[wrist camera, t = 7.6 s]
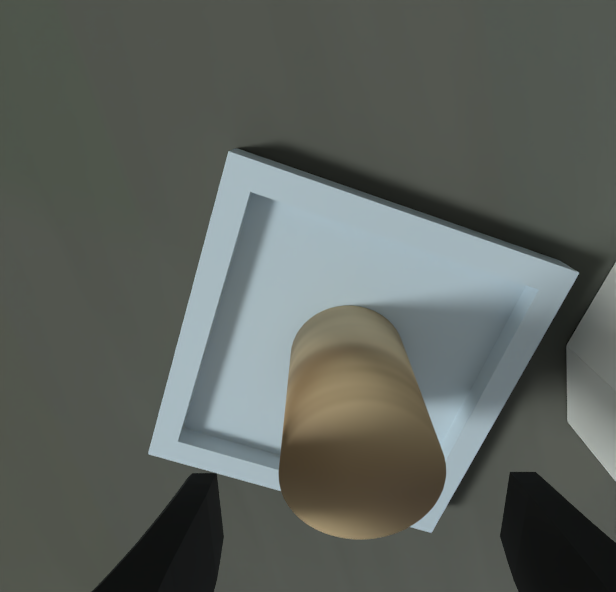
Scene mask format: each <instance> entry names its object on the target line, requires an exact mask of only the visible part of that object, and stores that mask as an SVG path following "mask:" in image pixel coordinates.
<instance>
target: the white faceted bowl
mask: <svg viewBox="0 0 616 592" xmlns="http://www.w3.org/2000/svg"><path fill="white" fill-rule="evenodd" d="M566 358H567V421H568V423H569V424H570V425H571V427H572V428H573V429H574V430H575V432H576V433H577V434H578V435H579V437H580V438H581V439H582V440H583V442H584V443H585V444H586V445H587V447H588V448H589V449H590V450H591V452H592V453H593V454H594V455H595V457H596V458H597V459H598V460H599V461H600V463H601V464H602V465H603V466H604V468H605V469H606V470H607V471H608V473H609V474H610V475H611V476H612V478H613V479H614V480H615V481H616V262H615V264H614V266H613V267H612V269H611V271H610V273H609V274H608V276H607V278H606V279H605V281H604V283H603V284H602V286H601V288H600V289H599V291H598V293H597V294H596V296H595V298H594V300H593V301H592V303H591V305H590V306H589V308H588V310H587V311H586V313H585V315H584V316H583V318H582V320H581V321H580V323H579V325H578V326H577V328H576V330H575V332H574V333H573V335H572V337H571V338H570V340H569V342H568V343H567V346H566Z"/></svg>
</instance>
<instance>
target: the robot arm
mask: <svg viewBox="0 0 616 592" xmlns="http://www.w3.org/2000/svg"><path fill="white" fill-rule="evenodd" d="M500 537H501V541H502V544H503V547H504V551H505V554H506V557H507V561H508V564H509V567H510V570H511V573H512V576H513V579H514V582H515V584H516V586H517V589H518V591H519V592H616V543H615V542H614V541H613V540H612V539H610V538H609V537H608V536H607V535H606V534H605V533H603V532H602V531H601V530H600V529H599V528H598V527H596V526H595V525H594V524H593V523H592V522H591V521H590V520H588V519H587V518H586V517H585V516H584V515H583V514H582V513H581V512H579V511H578V510H577V509H576V508H575V507H574V506H573V505H572V504H571V503H569V502H568V501H567V500H566V499H565V498H564V497H563V496H562V495H561V494H560V493H558V492H557V491H556V490H555V489H554V488H553V487H552V486H551V485H550V484H548V483H547V482H546V481H545V480H544V479H543V478H542V477H541V476H539V475H538V474H537V473H536V472H510V475H509V482H508V488H507V495H506V501H505V508H504V514H503V521H502V528H501V534H500ZM223 538H224V535H223V526H222V517H221V508H220V499H219V490H218V482H217V473H192V474H191V475H190V476H189V477H188V478H187V480H186V481H185V482H184V484H183V485H182V486H181V488H180V489H179V490H178V492H177V493H176V495H175V496H174V497H173V498H172V500H171V501H170V502H169V504H168V505H167V506H166V508H165V509H164V510H163V511H162V513H161V514H160V515H159V517H158V518H157V519H156V520H155V521H154V523H153V524H152V525H151V526H150V528H149V529H148V530H147V531H146V532H145V534H144V535H143V536H142V537H141V538H140V540H139V541H138V542H137V543H136V544H135V546H134V547H133V548H132V549H131V550H130V551H129V552H128V553H127V554H126V556H125V557H124V558H123V559H122V560H121V561H120V562H119V563H118V564H117V566H116V567H115V568H114V569H113V570H112V571H111V572H110V573H109V574H108V575H107V576H106V577H105V578H104V580H103V581H102V582H101V583H100V584H99V585H98V586H97V587H96V588H95V589H94V590H93V591H92V592H214V589H215V585H216V581H217V576H218V570H219V564H220V557H221V551H222V544H223Z"/></svg>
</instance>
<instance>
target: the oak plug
mask: <svg viewBox="0 0 616 592" xmlns="http://www.w3.org/2000/svg"><path fill="white" fill-rule="evenodd" d="M445 480H446V462H445V457H444V454H443V451H442V448H441V446H440V443H439V440H438V438H437V435H436V432H435V429H434V427H433V424H432V421H431V419H430V416H429V413H428V410H427V408H426V405H425V402H424V400H423V397H422V394H421V391H420V389H419V386H418V383H417V381H416V378H415V375H414V372H413V370H412V367H411V364H410V362H409V359H408V356H407V353H406V351H405V348H404V345H403V343H402V340H401V337H400V335H399V333H398V331H397V330H396V328H395V327H394V326H393V324H392V323H391V322H390V321H389V320H388V319H386V318H385V317H384V316H382V315H381V314H379V313H377V312H375V311H373V310H371V309H368V308H364V307H360V306H352V305H345V306H337V307H333V308H329V309H326V310H324V311H321V312H319V313H318V314H316V315H314V316H313V317H311V318H310V319H309V320H308V321H307V322H306V323H304V325H303V326H302V327H301V328H300V329H299V331H298V333H297V334H296V336H295V339H294V341H293V344H292V348H291V356H290V365H289V375H288V385H287V394H286V404H285V414H284V423H283V433H282V443H281V453H280V462H279V484H280V489H281V492H282V494H283V497H284V499H285V501H286V503H287V504H288V506H289V507H290V508H291V510H292V511H293V512H294V513H295V514H296V515H297V516H298V517H299V518H300V519H301V520H302V521H304V522H305V523H306V524H308V525H309V526H311V527H313V528H315V529H317V530H319V531H321V532H323V533H326V534H329V535H332V536H336V537H341V538H347V539H374V538H380V537H385V536H388V535H392V534H395V533H397V532H400V531H402V530H404V529H406V528H408V527H410V526H412V525H413V524H415V523H416V522H418V521H419V520H421V519H422V518H423V517H424V516H425V515H426V514H427V513H428V512H429V511H430V510H431V509H432V508H433V507H434V505H435V504H436V502H437V501H438V499H439V497H440V495H441V493H442V491H443V488H444V484H445Z"/></svg>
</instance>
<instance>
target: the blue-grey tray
mask: <svg viewBox="0 0 616 592" xmlns="http://www.w3.org/2000/svg"><path fill="white" fill-rule="evenodd" d="M578 275H579V272H578V271H576V270H574V269H573V268H571V267H570V266H568V265H566V264H565V263H563V262H561V261H560V260H558V259H555V258H552V257H549V256H546V255H543V254H540V253H537V252H534V251H532V250H529V249H526V248H523V247H520V246H517V245H514V244H511V243H509V242H506V241H503V240H500V239H497V238H494V237H491V236H488V235H486V234H483V233H480V232H477V231H474V230H471V229H468V228H465V227H463V226H460V225H457V224H454V223H451V222H448V221H445V220H442V219H439V218H437V217H434V216H431V215H428V214H425V213H422V212H419V211H416V210H414V209H411V208H408V207H405V206H402V205H399V204H396V203H393V202H391V201H388V200H385V199H382V198H379V197H376V196H373V195H370V194H368V193H365V192H362V191H359V190H356V189H353V188H350V187H347V186H344V185H342V184H339V183H336V182H333V181H330V180H327V179H324V178H321V177H319V176H316V175H313V174H310V173H307V172H304V171H301V170H298V169H296V168H293V167H290V166H287V165H284V164H281V163H278V162H275V161H273V160H270V159H267V158H264V157H261V156H258V155H255V154H252V153H249V152H247V151H244V150H241V149H238V148H235V149H232V150H230V151H229V152H228V155H227V159H226V163H225V167H224V170H223V174H222V178H221V182H220V185H219V189H218V193H217V197H216V200H215V204H214V208H213V212H212V216H211V219H210V223H209V227H208V231H207V234H206V238H205V242H204V246H203V249H202V253H201V257H200V261H199V264H198V268H197V272H196V276H195V279H194V283H193V287H192V291H191V294H190V298H189V302H188V306H187V310H186V313H185V317H184V321H183V325H182V328H181V332H180V336H179V340H178V343H177V347H176V351H175V355H174V358H173V362H172V366H171V370H170V373H169V377H168V381H167V385H166V388H165V392H164V396H163V400H162V404H161V407H160V411H159V415H158V419H157V422H156V426H155V430H154V434H153V437H152V441H151V445H150V449H149V452H148V454H150V455H153V456H157V457H160V458H164V459H168V460H171V461H175V462H178V463H182V464H186V465H189V466H193V467H196V468H200V469H203V470H207V471H211V472H214V473H218V474H221V475H225V476H229V477H232V478H236V479H239V480H243V481H247V482H250V483H254V484H257V485H261V486H265V487H268V488H272V489H275V490H279V491H281V489H280V484H279V462H280V453H281V443H282V433H283V423H284V414H285V404H286V394H287V385H288V375H289V365H290V356H291V348H292V344H293V341H294V339H295V336H296V334H297V333H298V331H299V329H300V328H301V327H302V326H303V325H304V323H306V322H307V321H308V320H309V319H310V318H311V317H313V316H314V315H316V314H318V313H319V312H321V311H324V310H326V309H329V308H333V307H337V306H345V305H352V306H360V307H364V308H368V309H371V310H373V311H375V312H377V313H379V314H381V315H382V316H384V317H385V318H386V319H388V320H389V321H390V322H391V323H392V324H393V326H394V327H395V328H396V330H397V331H398V333H399V335H400V337H401V340H402V343H403V345H404V348H405V351H406V353H407V356H408V359H409V362H410V364H411V367H412V370H413V372H414V375H415V378H416V381H417V383H418V386H419V389H420V391H421V394H422V397H423V400H424V402H425V405H426V408H427V410H428V413H429V416H430V419H431V421H432V424H433V427H434V429H435V432H436V435H437V438H438V440H439V443H440V446H441V448H442V451H443V454H444V457H445V462H446V480H445V484H444V488H443V491H442V493H441V495H440V497H439V499H438V501H437V502H436V504H435V505H434V507H433V508H432V509H431V510H430V511H429V512H428V513H427V514H426V515H425V516H424V517H423V518H422V519H421V520H419V521H418V522H416V523H415V524H413V525H412V526H410V527H412V528H416V529H419V530H423V531H426V532H430V533H432V531H433V529H434V527H435V526H436V524H437V522H438V520H439V519H440V517H441V515H442V513H443V512H444V510H445V508H446V506H447V505H448V503H449V501H450V499H451V498H452V496H453V494H454V492H455V491H456V489H457V487H458V485H459V484H460V482H461V480H462V478H463V476H464V475H465V473H466V471H467V469H468V468H469V466H470V464H471V462H472V461H473V459H474V457H475V455H476V454H477V452H478V450H479V448H480V447H481V445H482V443H483V441H484V440H485V438H486V436H487V434H488V433H489V431H490V429H491V427H492V426H493V424H494V422H495V420H496V419H497V417H498V415H499V413H500V412H501V410H502V408H503V406H504V404H505V403H506V401H507V399H508V397H509V396H510V394H511V392H512V390H513V389H514V387H515V385H516V383H517V382H518V380H519V378H520V376H521V375H522V373H523V371H524V369H525V368H526V366H527V364H528V362H529V361H530V359H531V357H532V355H533V354H534V352H535V350H536V348H537V347H538V345H539V343H540V341H541V340H542V338H543V336H544V334H545V333H546V331H547V329H548V327H549V325H550V324H551V322H552V320H553V318H554V317H555V315H556V313H557V311H558V310H559V308H560V306H561V304H562V303H563V301H564V299H565V297H566V296H567V294H568V292H569V290H570V289H571V287H572V285H573V283H574V282H575V280H576V278H577V276H578Z"/></svg>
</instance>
